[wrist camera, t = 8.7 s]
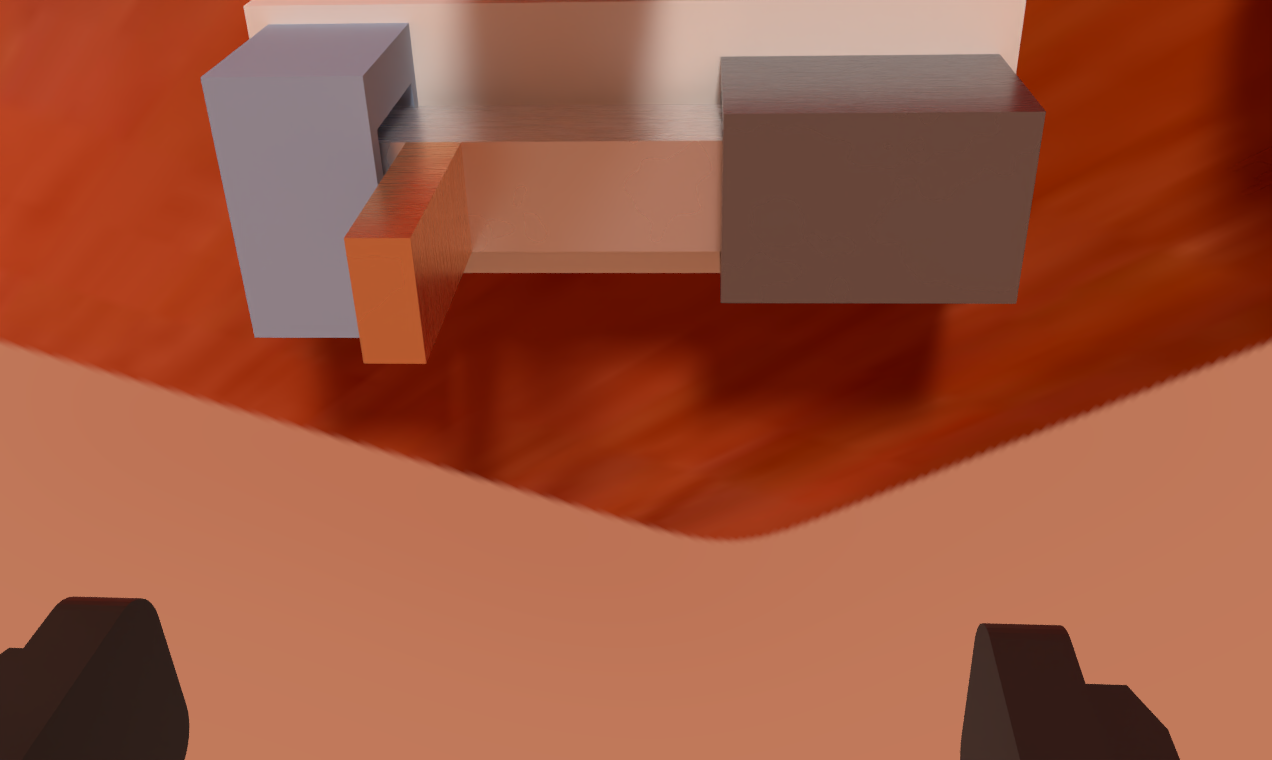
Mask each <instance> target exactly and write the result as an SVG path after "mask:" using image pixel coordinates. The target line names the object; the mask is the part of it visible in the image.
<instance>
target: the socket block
mask: <svg viewBox="0 0 1272 760" xmlns="http://www.w3.org/2000/svg"><path fill="white" fill-rule="evenodd" d="M201 82H202V87H203V92H204V97H205V101H206V106H207V111H208V116H209V121H210V125H211V130H212V135H213V140H214V144H215V149H216V154H217V159H218V164H219V168H220V173H221V178H222V183H223V188H224V192H225V197H226V202H227V207H228V211H229V216H230V221H231V226H232V231H233V235H234V240H235V245H236V250H237V255H238V259H239V264H240V269H241V274H242V278H243V283H244V288H245V293H246V298H247V302H248V307H249V312H250V317H251V322H252V326H253V331H254V336H255V337H274V338H360V337H359V331H358V325H357V319H356V312H355V306H354V300H353V293H352V287H351V281H350V274H349V268H348V262H347V256H346V249H345V243H344V237H345V235H346V234H347V232H348V231H349V229H350V228H351V226H352V225H353V223H354V222H355V220H356V219H357V217H358V215H359V214H360V212H361V211H362V209H363V208H364V206H365V205H366V203H367V202H368V200H369V198H370V197H371V195H372V194H373V192H374V191H375V189H376V188H377V186H378V185H379V183H380V181H381V180H382V178H383V170H382V163H381V155H380V148H379V141H378V133H377V129H378V128H379V126H380V125H381V123H382V122H383V121H384V119H385V118H386V117H387V115H388V114H389V113H390V111H391V110H392V108H393V107H394V106H418V97H417V89H416V80H415V72H414V63H413V55H412V46H411V38H410V29H409V23H351V24H268V25H267V26H266V27H264V28H263V29H262V30H261V31H259V32H258V33H257V34H255V35H254V36H253V37H252V38H250V39H249V40H248V41H246V42H245V43H244V44H243V45H241V46H240V47H239V48H238V49H236V50H235V51H234V52H232V53H231V54H230V55H229V56H227V57H226V58H225V59H224V60H222V61H221V62H220V63H218V64H217V65H216V66H215V67H213V68H212V69H211V70H210V71H208V72H207V73H206V74H204V75H203V76H202V77H201Z"/></svg>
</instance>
